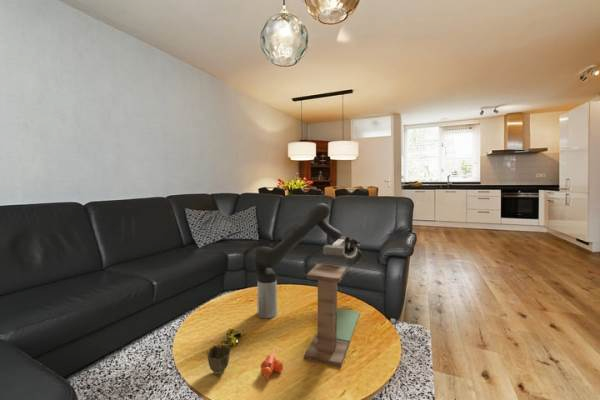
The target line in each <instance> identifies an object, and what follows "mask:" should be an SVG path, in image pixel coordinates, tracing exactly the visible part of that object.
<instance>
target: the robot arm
mask: <svg viewBox="0 0 600 400" xmlns="http://www.w3.org/2000/svg"><path fill="white" fill-rule="evenodd" d="M329 214H330V207H329V206H328V204H326V203H323V202H320V203H317V204H316V205H314V206H313V207H312V208H311V209H310V210H309V213H307V214H306V215H304V216H303V217H301V218H299V220H296V221H295V222H294V223H293V224H292V225H290V226H289V227H287V229H286V230H285V232H284V233H283V237H282V239H281V241H280V242H279V243H277V245H275V246H273V247H268V246H263V245H262V246H260V247H259V248H258V249H256V252H255V255H254V264H255V266H254V267H255V275H256V278H257V294H256V296H257V297H256V298H257V299H256V300H257V301H256V303H257V304H256V306H257V308H256V309H257V311H256V312H257V318H259V319H271V318H275V317H276V316H277V315H278V302H277V301H278V292H277V291H278V290H277V289H278V288H277V287H278V285H277V284H278V283H277V282H278V281H277V279H278V278H277V273H276V272H275V271H274V270H273V268H274V267H276V266H277V265H279V263H281V261H282V260H283V259H284V258H285V257H286V256H287V254H288V253H289V252H291V250H292V249H294V248H295V246H297V244H299V243H300V242H301V241H303V240H304V239H305V237H306V236H308V235H309V233H310V232H311V231H312V230H313V229H314V228H315V226H317V227H318V228H319V229H320V230H322V231H323V232H324V233H325V234H326V235H327V236H328V237H329V238H330V239H331V241H332V242H333V243H335V242H336V241H337V240H338V239H339V238H340V237H341V236H346V242H347V244H346V245H345V254H344V255H343V260H344V262H345V263H346V265H348V266H349V267H353V266H355V265H356V264H358V263H359V262H360V261H362V260H363V258H364V254H363V252H362V251H361V249H360V248H361V242H359V241H357V240H356V239H354V238H353V239H351V238H350V237H349V236H348V235H345V234H343V232H341V231H340V230H338V229H337V228H336V227H334V226H332V225H331V224H330V223H328V222H327V220H326V219H327V218H328V216H329ZM333 243H332V244H333Z"/></svg>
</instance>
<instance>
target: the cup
mask: <svg viewBox="0 0 600 400" xmlns="http://www.w3.org/2000/svg"><path fill="white" fill-rule="evenodd" d="M225 345H226V344H225ZM225 345H224V346H223V344H222V346H220V344H218V345H217V346H216V345H213V346H212V347H210V348H209V351H206V356H207V361H208V366H209V368H210V370H211V371H212V372H213V374H214V376H217V375H219V376H222V375H224V372H225V371H226V369H227V367H228V365H229V361H230V351H231V348H230V347H229V346H225ZM221 374H222V375H221Z"/></svg>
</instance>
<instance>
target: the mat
mask: <svg viewBox="0 0 600 400" xmlns="http://www.w3.org/2000/svg"><path fill="white" fill-rule="evenodd" d="M360 315H361V311H360V310H359V311H357V310H351V309H345V308H339V307H337V340H342V341H347V342H349V344H350V343H351V340H352V338H353V335H354V331H355V329H356V325H357V322H358V321H359V317H360ZM316 335H317V336H318V332H317V333H316Z"/></svg>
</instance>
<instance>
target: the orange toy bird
mask: <svg viewBox="0 0 600 400" xmlns="http://www.w3.org/2000/svg"><path fill="white" fill-rule="evenodd" d="M275 353H276V350H274V349H272V351H271V353H270V354H269V355H267V356H266V358H265V360H264V361H262V362H261V364H260V372H261V373H262V374H263V376H264V377H265V380H266V381H268V380H269V378H270V376H271V375H272V373H273V371H274V372H275V373H281V372H282V371H283V369H284V366H283V363H282V362H281V361H280V360H279V359H277V360H276V357H275V355H276V354H275Z"/></svg>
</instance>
